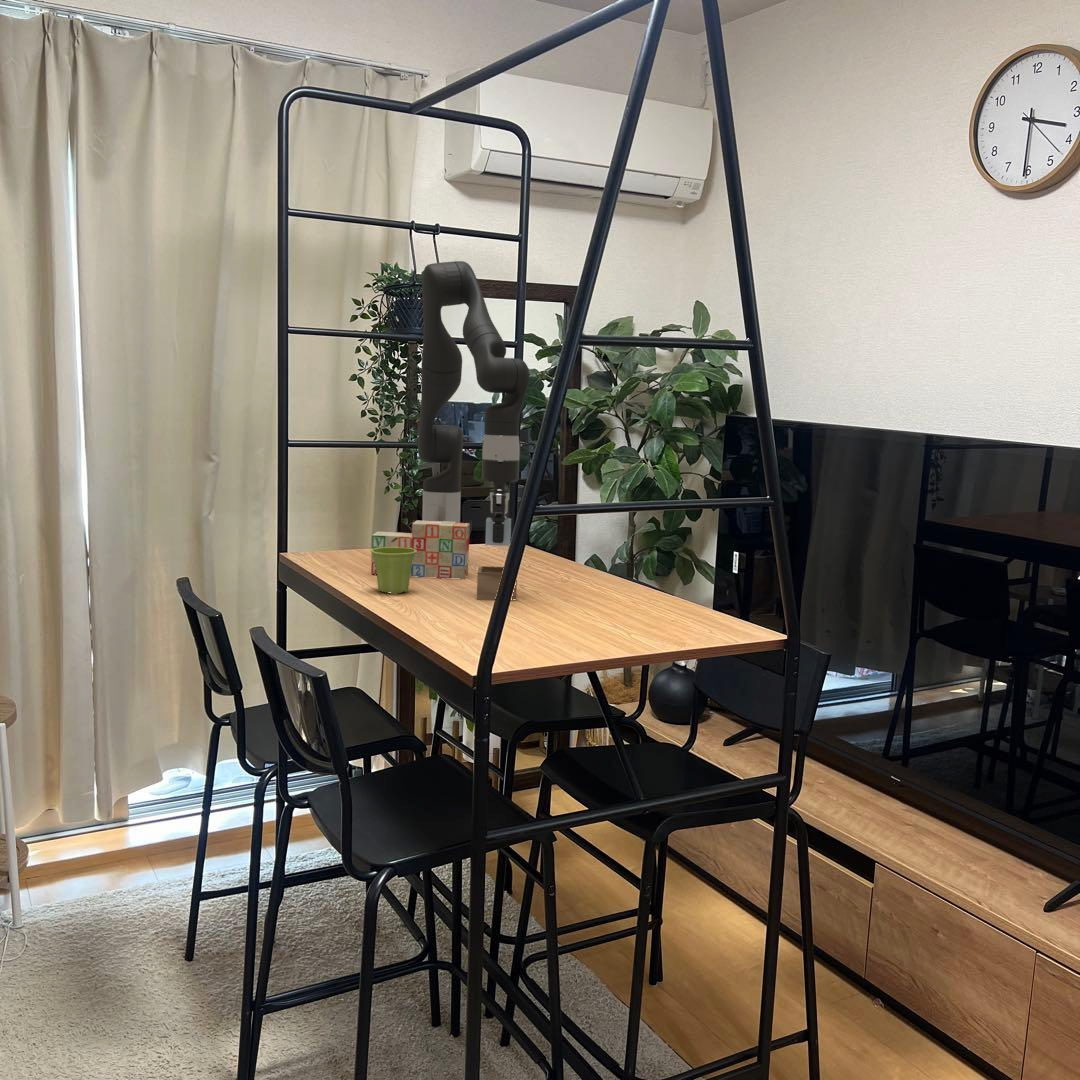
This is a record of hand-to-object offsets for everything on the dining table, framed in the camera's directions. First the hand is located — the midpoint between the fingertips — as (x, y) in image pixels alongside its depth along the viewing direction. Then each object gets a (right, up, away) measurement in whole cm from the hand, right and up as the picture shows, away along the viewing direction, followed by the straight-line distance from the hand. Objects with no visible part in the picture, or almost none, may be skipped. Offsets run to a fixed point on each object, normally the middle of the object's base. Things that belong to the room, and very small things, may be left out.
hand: (498, 540), depth 215 cm
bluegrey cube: (0, -1, 0) cm, 1 cm away
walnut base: (0, -12, +2) cm, 12 cm away
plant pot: (-22, -11, +3) cm, 25 cm away
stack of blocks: (-19, -8, +23) cm, 31 cm away
